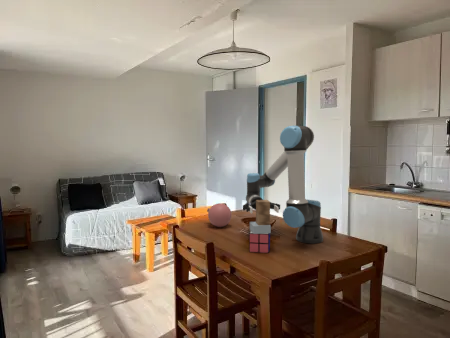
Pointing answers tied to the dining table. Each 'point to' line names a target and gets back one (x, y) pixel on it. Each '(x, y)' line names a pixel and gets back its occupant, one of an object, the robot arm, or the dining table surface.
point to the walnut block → (263, 212)
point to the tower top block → (259, 228)
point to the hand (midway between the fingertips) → (265, 210)
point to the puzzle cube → (259, 242)
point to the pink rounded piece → (219, 215)
